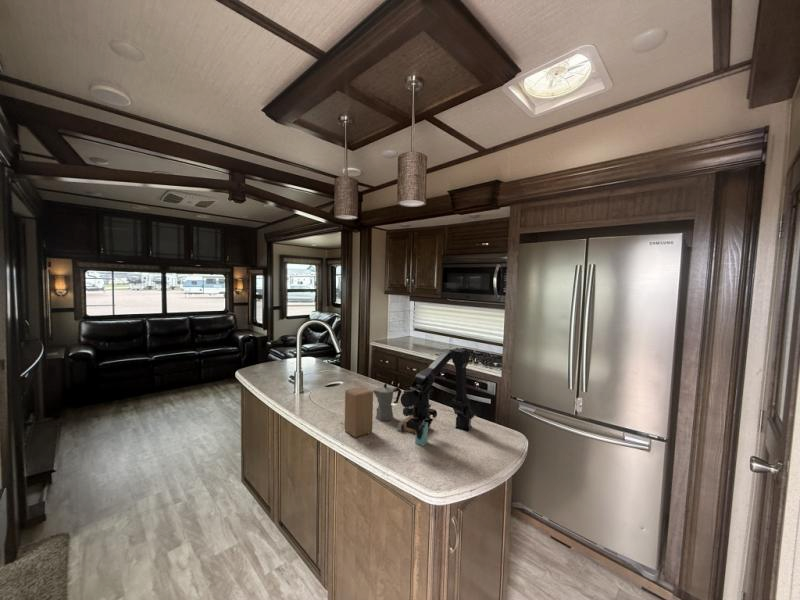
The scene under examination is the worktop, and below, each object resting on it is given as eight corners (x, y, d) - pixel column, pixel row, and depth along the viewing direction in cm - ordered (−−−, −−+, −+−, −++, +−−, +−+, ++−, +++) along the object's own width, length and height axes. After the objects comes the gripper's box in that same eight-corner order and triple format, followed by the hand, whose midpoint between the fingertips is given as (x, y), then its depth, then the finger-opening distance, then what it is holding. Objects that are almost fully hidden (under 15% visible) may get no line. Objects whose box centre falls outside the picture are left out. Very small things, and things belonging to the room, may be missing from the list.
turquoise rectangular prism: (427, 442, 141) (428, 422, 141) (423, 446, 138) (423, 425, 138) (419, 440, 143) (420, 420, 143) (415, 443, 140) (415, 423, 140)
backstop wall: (415, 422, 163) (415, 415, 163) (401, 432, 151) (401, 425, 151) (411, 421, 164) (412, 414, 164) (397, 431, 152) (397, 423, 152)
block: (343, 430, 151) (344, 389, 150) (361, 425, 157) (362, 385, 157) (354, 438, 143) (355, 395, 143) (373, 432, 150) (374, 390, 149)
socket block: (430, 427, 156) (430, 418, 156) (421, 435, 148) (421, 425, 148) (413, 423, 161) (413, 414, 161) (403, 430, 153) (403, 420, 153)
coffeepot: (374, 423, 160) (375, 387, 160) (370, 415, 169) (371, 382, 169) (403, 419, 165) (404, 385, 164) (398, 412, 174) (398, 380, 173)
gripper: (416, 393, 152) (415, 425, 153) (395, 405, 136) (394, 440, 137) (437, 398, 146) (436, 431, 147) (418, 410, 130) (417, 448, 131)
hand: (421, 437), depth 141 cm, fingers closed on turquoise rectangular prism, 4 cm apart
